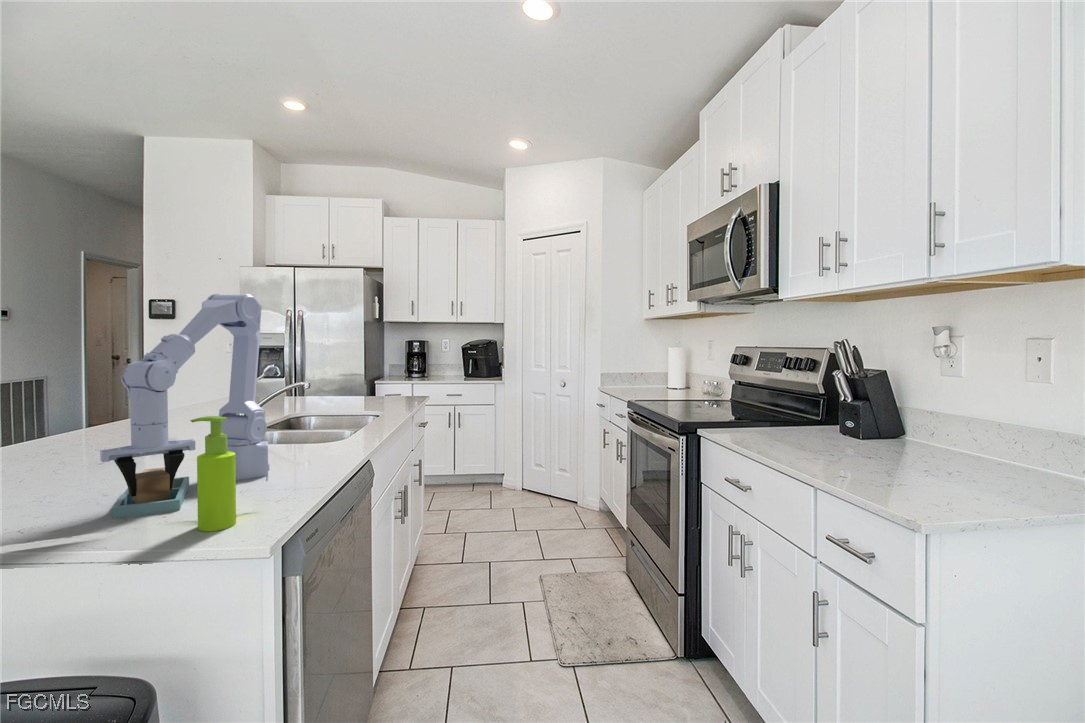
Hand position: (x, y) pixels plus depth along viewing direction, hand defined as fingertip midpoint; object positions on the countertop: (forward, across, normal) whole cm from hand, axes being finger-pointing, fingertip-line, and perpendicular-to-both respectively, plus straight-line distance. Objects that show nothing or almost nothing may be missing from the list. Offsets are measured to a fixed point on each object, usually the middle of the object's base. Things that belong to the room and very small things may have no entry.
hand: (151, 492), depth 98 cm
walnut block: (+2, 0, 0) cm, 2 cm away
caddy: (+4, -1, -4) cm, 6 cm away
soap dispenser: (+4, -6, +16) cm, 18 cm away
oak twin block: (+3, -3, -8) cm, 9 cm away
